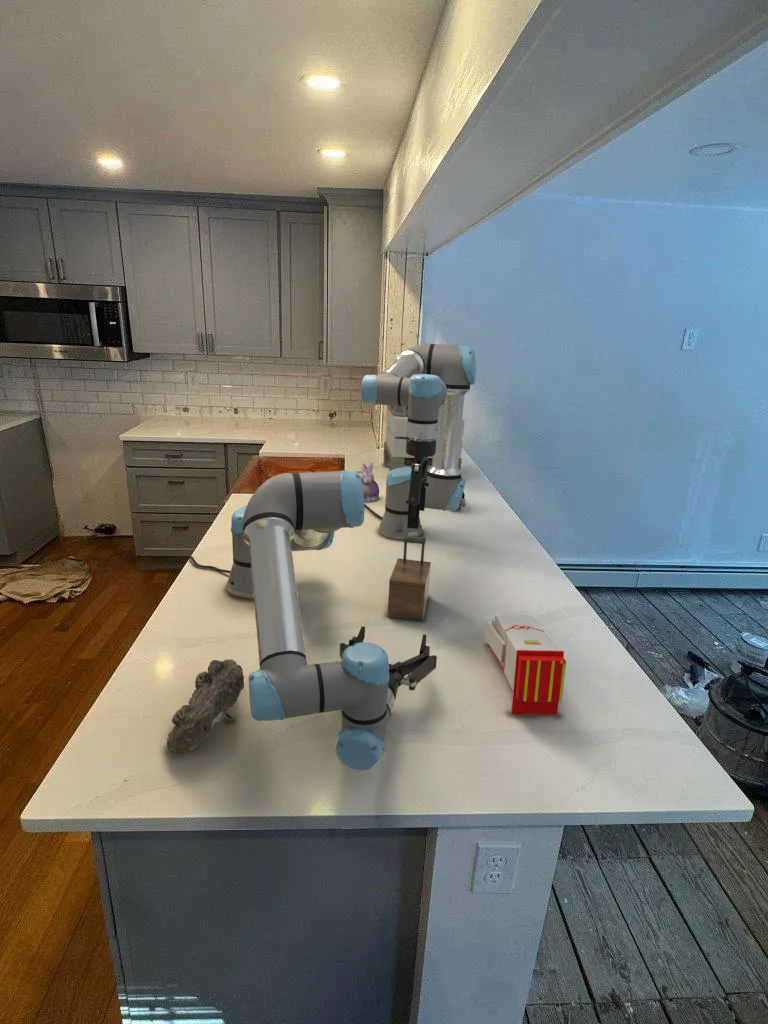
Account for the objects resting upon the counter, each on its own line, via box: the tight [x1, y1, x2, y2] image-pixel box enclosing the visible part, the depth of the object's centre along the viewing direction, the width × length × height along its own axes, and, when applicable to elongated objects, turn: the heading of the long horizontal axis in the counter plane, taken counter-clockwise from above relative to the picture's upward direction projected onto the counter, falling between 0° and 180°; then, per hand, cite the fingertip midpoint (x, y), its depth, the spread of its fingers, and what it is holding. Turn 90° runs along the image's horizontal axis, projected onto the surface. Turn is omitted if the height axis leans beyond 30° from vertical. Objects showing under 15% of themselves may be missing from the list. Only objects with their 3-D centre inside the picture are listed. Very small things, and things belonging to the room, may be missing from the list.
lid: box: [388, 535, 432, 588], centre depth 147 cm, size 14×9×9 cm, turn 170°
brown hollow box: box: [387, 569, 431, 622], centre depth 150 cm, size 13×9×10 cm
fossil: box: [166, 658, 245, 754], centre depth 106 cm, size 22×10×15 cm
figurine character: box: [457, 490, 466, 511], centre depth 229 cm, size 7×8×15 cm
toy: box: [484, 614, 567, 716], centre depth 124 cm, size 12×13×30 cm
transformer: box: [383, 405, 465, 472], centre depth 268 cm, size 34×33×41 cm
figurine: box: [360, 462, 380, 503], centre depth 232 cm, size 9×10×15 cm
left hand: (393, 635), depth 124 cm, fingers open, 13 cm apart
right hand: (416, 518), depth 148 cm, fingers open, 13 cm apart
